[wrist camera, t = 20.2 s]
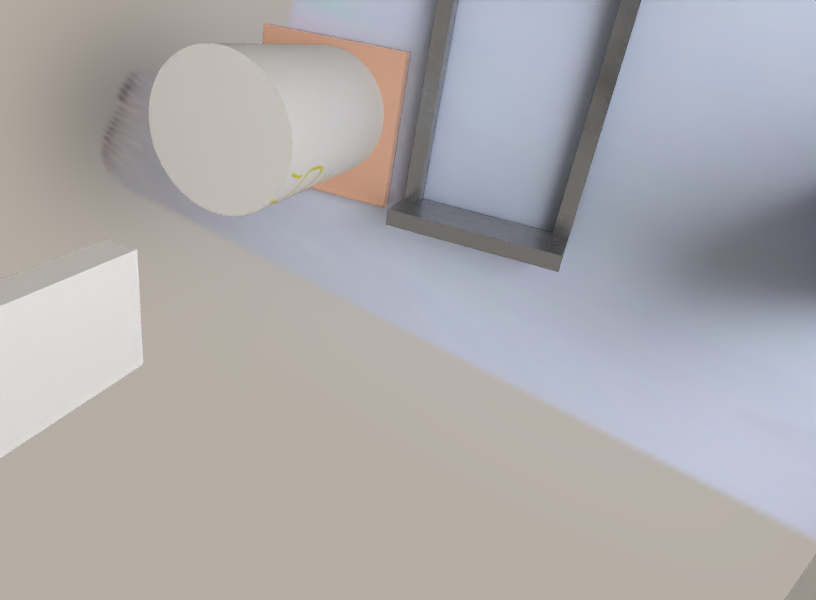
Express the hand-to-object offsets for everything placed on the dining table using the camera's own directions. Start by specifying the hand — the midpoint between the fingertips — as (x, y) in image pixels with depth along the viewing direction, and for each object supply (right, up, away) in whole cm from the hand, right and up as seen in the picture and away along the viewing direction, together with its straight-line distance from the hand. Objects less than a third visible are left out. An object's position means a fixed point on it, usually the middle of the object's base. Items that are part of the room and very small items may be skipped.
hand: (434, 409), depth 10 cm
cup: (-6, +15, +28) cm, 32 cm away
